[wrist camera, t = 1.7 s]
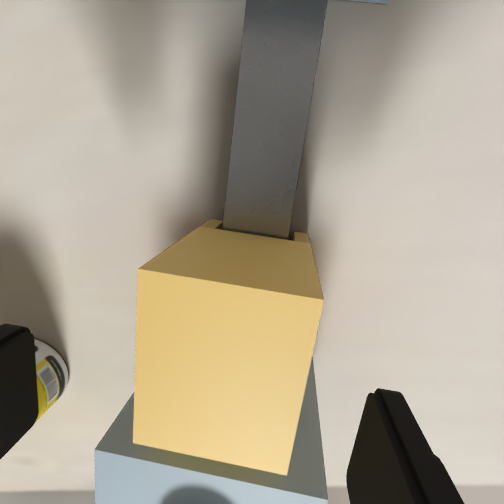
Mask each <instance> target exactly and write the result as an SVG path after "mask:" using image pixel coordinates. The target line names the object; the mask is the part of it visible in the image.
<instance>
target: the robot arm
mask: <svg viewBox="0 0 504 504" xmlns="http://www.w3.org/2000/svg"><path fill="white" fill-rule="evenodd" d="M38 413H39V408H38V391H37V374H36V357H35V340H34V336H33V334H31V333H30V330H29V329H28V328H26V327H22V326H16V325H10V324H3V325H0V459H1V458H2V457H3V456H4V455H5V454H6V453H7V452H8V451H9V450H10V449H11V448H12V447H13V446H14V445H15V444H16V443H17V442H18V441H19V440H20V439H21V438H22V436H23V435H24V434H25V433H26V432H27V431H28V430H29V429H30V428H31V427H32V426H33V425H34V423H35V422H36V420H37V417H38ZM347 489H348V494H349V499H350V504H464V502H463V500H462V499H461V497H460V495H459V493H458V491H457V489H456V487H455V485H454V484H453V482H452V480H451V478H450V476H449V474H448V472H447V471H446V469H445V467H444V465H443V463H442V462H441V460H440V459H439V458H438V457H437V456H436V455H434V454H433V452H432V450H431V448H430V446H429V444H428V442H427V441H426V439H425V437H424V435H423V433H422V431H421V429H420V427H419V425H418V423H417V421H416V419H415V418H414V416H413V414H412V412H411V410H410V408H409V406H408V404H407V402H406V400H405V398H404V396H403V395H402V393H400V392H397V391H391V390H385V389H379V388H378V389H376V391H375V393H369V394H368V396H367V399H366V403H365V407H364V410H363V414H362V418H361V421H360V425H359V429H358V432H357V436H356V440H355V443H354V447H353V451H352V454H351V458H350V462H349V466H348V469H347Z"/></svg>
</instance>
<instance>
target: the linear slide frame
mask: <svg viewBox="0 0 504 504" xmlns="http://www.w3.org/2000/svg"><path fill="white" fill-rule="evenodd" d="M350 1H360V2H371V3H381V4H388V2H389V0H350ZM133 420H134V393H133V394H132V396H131V397H130V399H129V400H128V402H127V403H126V405H125V406H124V407H123V409H122V410H121V412H120V413H119V415H118V416H117V418H116V419H115V421H114V422H113V423H112V425H111V426H110V428H109V429H108V431H107V432H106V434H105V435H104V437H103V438H102V440H101V441H100V442H99V444H98V445H97V447H96V448H95V504H327V502H328V495H327V486H326V477H325V468H324V458H323V449H322V440H321V431H320V422H319V412H318V403H317V394H316V385H315V375H314V366H313V357H312V359H311V364H310V369H309V373H308V378H307V383H306V388H305V392H304V397H303V402H302V406H301V411H300V416H299V421H298V425H297V430H296V435H295V440H294V444H293V449H292V454H291V458H290V463H289V468H288V473H287V476H286V475H281V474H277V473H272V472H267V471H262V470H258V469H253V468H248V467H244V466H239V465H234V464H229V463H225V462H220V461H215V460H210V459H206V458H201V457H196V456H192V455H187V454H182V453H177V452H173V451H168V450H163V449H159V448H154V447H149V446H144V445H140V444H135V443H133Z"/></svg>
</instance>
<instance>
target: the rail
mask: <svg viewBox="0 0 504 504" xmlns="http://www.w3.org/2000/svg"><path fill="white" fill-rule="evenodd" d="M327 1H328V0H247V1H246V11H245V20H244V30H243V39H242V49H241V58H240V68H239V77H238V86H237V96H236V105H235V115H234V124H233V134H232V143H231V153H230V162H229V172H228V181H227V191H226V200H225V210H224V219H223V229H222V230H226V231H233V232H239V233H246V234H252V235H259V236H265V237H272V238H278V239H285V240H288V235H289V229H290V223H291V217H292V211H293V205H294V199H295V193H296V187H297V181H298V175H299V169H300V163H301V157H302V151H303V145H304V139H305V133H306V127H307V121H308V115H309V109H310V103H311V97H312V91H313V85H314V79H315V73H316V67H317V61H318V55H319V49H320V43H321V37H322V31H323V25H324V19H325V13H326V7H327Z"/></svg>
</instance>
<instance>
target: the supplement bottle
mask: <svg viewBox="0 0 504 504" xmlns="http://www.w3.org/2000/svg"><path fill="white" fill-rule="evenodd" d="M34 340H35V357H36V374H37V391H38V408H39V413H38V417H37V420H38V419H39V418H40V417H41V416H42V415H43V414H44V413H45V412H46V411H47V410H48V409H49V408H50V407H51V406H52V405H53V403H54V402H55V401H56V400H57V399H58V398H59V397H60V396H61V395H62V394H63V392H64V391H65V389H66V387H67V383H68V371H67V367H66V365H65V363H64V361H63V359H62V358H61V356H60V355H59V354H58V353H57V352H56V351H55V350H54V349H53V348H51V347H50V346H48V345H47V344H45V343H43V342H41V341H39V340H36V339H34ZM37 420H36V421H37Z"/></svg>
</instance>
